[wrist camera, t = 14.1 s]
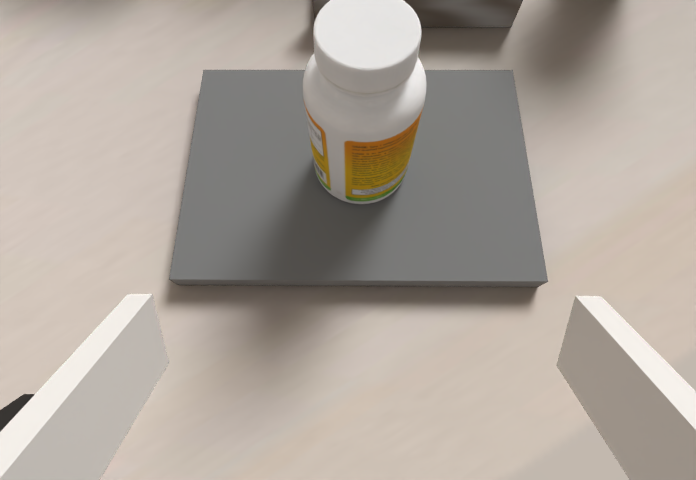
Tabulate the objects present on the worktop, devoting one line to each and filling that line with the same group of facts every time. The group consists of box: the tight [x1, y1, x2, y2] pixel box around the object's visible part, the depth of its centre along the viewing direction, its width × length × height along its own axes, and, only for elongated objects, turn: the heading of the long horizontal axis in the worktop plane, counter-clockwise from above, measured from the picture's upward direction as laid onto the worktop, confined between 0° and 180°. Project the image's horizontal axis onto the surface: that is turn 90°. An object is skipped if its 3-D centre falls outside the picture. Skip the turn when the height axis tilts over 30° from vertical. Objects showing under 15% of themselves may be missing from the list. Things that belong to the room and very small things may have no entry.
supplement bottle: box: [303, 0, 426, 204], centre depth 19 cm, size 5×5×10 cm
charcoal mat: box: [169, 70, 548, 287], centre depth 25 cm, size 20×14×1 cm
